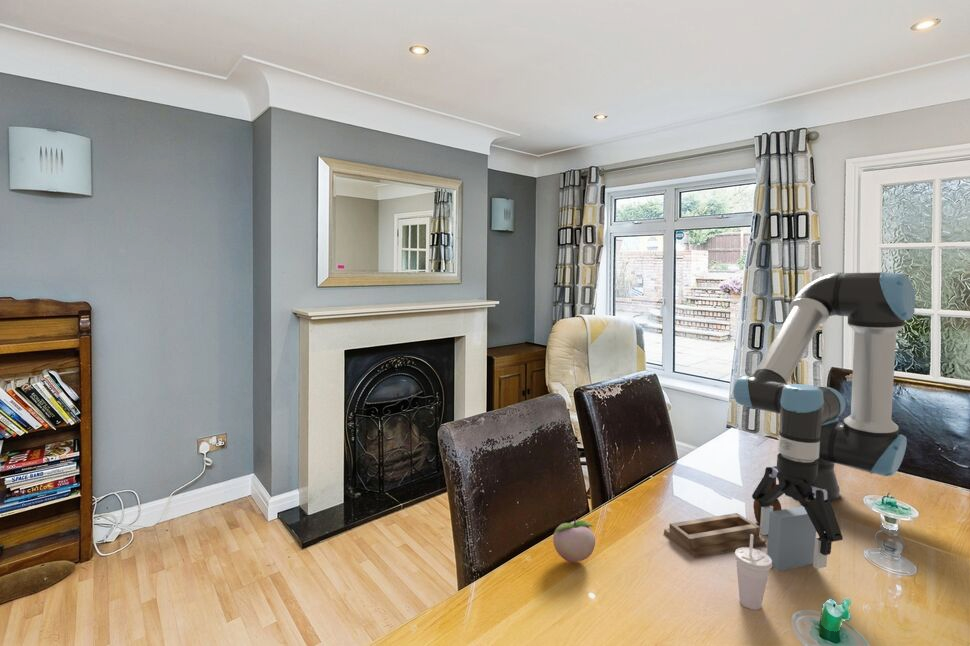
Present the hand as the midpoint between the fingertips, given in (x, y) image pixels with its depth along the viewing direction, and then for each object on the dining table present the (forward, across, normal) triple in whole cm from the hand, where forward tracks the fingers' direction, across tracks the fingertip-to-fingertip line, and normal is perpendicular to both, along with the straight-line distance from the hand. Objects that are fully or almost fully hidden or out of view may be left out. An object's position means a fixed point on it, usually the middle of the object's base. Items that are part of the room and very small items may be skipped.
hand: (790, 549), depth 107 cm
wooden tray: (+3, -13, -9) cm, 16 cm away
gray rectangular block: (+3, 0, 0) cm, 3 cm away
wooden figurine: (+4, -15, +9) cm, 18 cm away
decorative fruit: (+4, -13, -46) cm, 48 cm away
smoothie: (+4, +8, -19) cm, 21 cm away
